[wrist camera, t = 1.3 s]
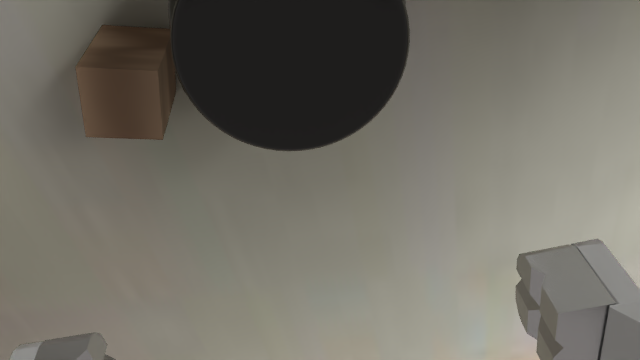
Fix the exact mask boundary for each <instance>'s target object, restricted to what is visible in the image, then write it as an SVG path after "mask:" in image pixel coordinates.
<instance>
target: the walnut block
mask: <svg viewBox="0 0 640 360" xmlns="http://www.w3.org/2000/svg"><path fill="white" fill-rule="evenodd" d="M170 31H171V30H170V29H164V28H146V27H129V26H111V25H102V26H101V28H100V29H99V31H98V33H97V34H96V36H95V37H94V39H93V40H92V42H91V43H90V45H89V47H88V48H87V50H86V51H85V53H84V54H83V56H82V57H81V59H80V61H79V62H78V64H77V65H76V67H75V68H76V74H77V81H78V88H79V94H80V101H81V107H82V114H83V121H84V127H85V134H86V137H101V138H128V139H156V140H163V137H164V133H165V130H166V126H167V123H168V119H169V115H170V112H171V108H172V104H173V101H174V97H175V94H176V77H175V67H174V63H173V59H172V52H171V39H170Z"/></svg>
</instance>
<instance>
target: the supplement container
mask: <svg viewBox="0 0 640 360" xmlns="http://www.w3.org/2000/svg"><path fill="white" fill-rule="evenodd" d="M168 16H169V24H170V30H171V31H170V39H171V52H172V59H173V63H174V67H175V70H176V73H177V76H178V78H179V81H180V83H181V85H182V87H183V89H184V91H185V93H186V94H187V96H188V97H189V99H190V101H191V102H192V103H193V104H194V106H195V107H196V108H197V110H198V111H199V112H200V113H201V114H202V115H203V116H204V117H205V118H206V119H207V120H208V121H210V122H211V123H212V124H213V125H214V126H216V127H217V128H218V129H220V130H221V131H223V132H224V133H226V134H228V135H229V136H231V137H233V138H235V139H237V140H239V141H242V142H244V143H247V144H250V145H253V146H256V147H260V148H264V149H270V150H276V151H302V150H310V149H315V148H320V147H323V146H327V145H330V144H333V143H335V142H338V141H340V140H342V139H344V138H346V137H348V136H350V135H352V134H354V133H355V132H357V131H358V130H360V129H361V128H363V127H364V126H365V125H366V124H368V123H369V122H370V121H371V120H372V119H373V118H374V117H375V116H377V115H378V114H379V112H380V111H381V110H382V109H383V108H384V107H385V105H386V104H387V103H388V101H389V100H390V98H391V97H392V95H393V94H394V92H395V90H396V88H397V87H398V85H399V82H400V80H401V78H402V75H403V72H404V69H405V66H406V62H407V58H408V53H409V43H410V29H409V21H408V15H407V10H406V0H168Z"/></svg>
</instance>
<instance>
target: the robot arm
mask: <svg viewBox="0 0 640 360" xmlns="http://www.w3.org/2000/svg"><path fill="white" fill-rule="evenodd" d="M516 269H517V271H518V273H519V275H520V277H521V280H520V282H519V283H518V284H517V285H516V303H517V309H518V313H519V316H520V319H521V322H522V324H523V326H524V328H525V330H526V332H527V334H529V335H530V336H532V337H534V338H535V339H537V354H538V356H539V358H540V360H640V289H639V287H638V286H637V285H636V283H635V282H634V281H633V280H632V278H631V277H630V276H629V274H628V273H627V272H626V271H625V269H624V268H623V267H622V266H621V264H620V263H619V262H618V260H617V259H616V258H615V257H614V255H613V254H612V253H611V251H610V250H609V249H608V248H607V246H606V245H605V244H604V243H603V241H601V240H599V239H594V240H588V241H583V242H578V243H573V244H571V245H563V246H558V247H553V248H548V249H542V250H537V251H532V252H527V253H522V254H519V256H518V258H517V268H516ZM106 348H107V343H106V341H105V340H104V338H103V336H102V335H101V333H88V334H82V335H76V336H69V337H63V338H57V339H51V340H45V341H41V342H35V343H29V344H22V345H19V346H18V347H17V348H16V349H15V350H14V351H13V352H12V355H11V357H10V359H9V360H116V359H114V358H112V357H110V356H108V355H106V354H105V352H106Z"/></svg>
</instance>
